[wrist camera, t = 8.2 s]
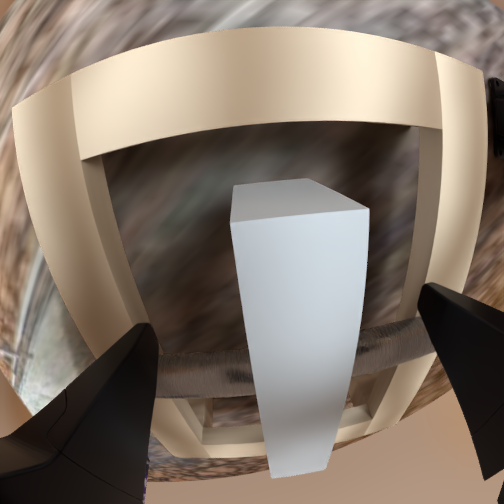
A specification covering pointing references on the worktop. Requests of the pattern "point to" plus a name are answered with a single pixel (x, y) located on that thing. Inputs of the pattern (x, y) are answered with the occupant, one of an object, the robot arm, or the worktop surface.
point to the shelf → (239, 114)
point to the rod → (240, 370)
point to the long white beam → (300, 311)
